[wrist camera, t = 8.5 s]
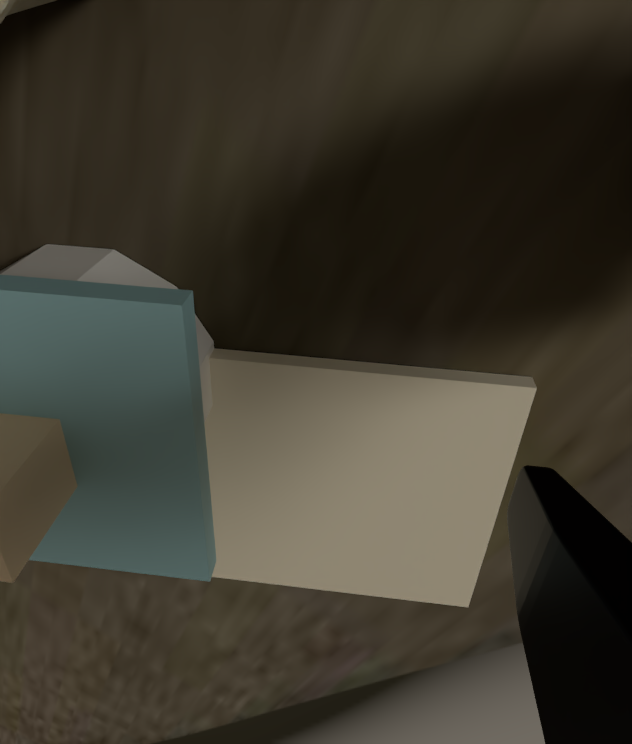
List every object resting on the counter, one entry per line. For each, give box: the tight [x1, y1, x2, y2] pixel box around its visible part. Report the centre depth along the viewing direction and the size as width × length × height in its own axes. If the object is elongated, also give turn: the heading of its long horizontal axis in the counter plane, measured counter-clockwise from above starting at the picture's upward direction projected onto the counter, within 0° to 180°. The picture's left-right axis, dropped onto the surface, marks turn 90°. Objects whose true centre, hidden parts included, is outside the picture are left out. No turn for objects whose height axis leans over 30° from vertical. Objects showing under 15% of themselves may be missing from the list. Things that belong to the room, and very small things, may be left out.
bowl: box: [0, 244, 214, 423], centre depth 22 cm, size 10×10×5 cm
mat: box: [204, 348, 537, 607], centre depth 26 cm, size 14×14×1 cm
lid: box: [0, 275, 216, 583], centre depth 17 cm, size 12×12×5 cm
